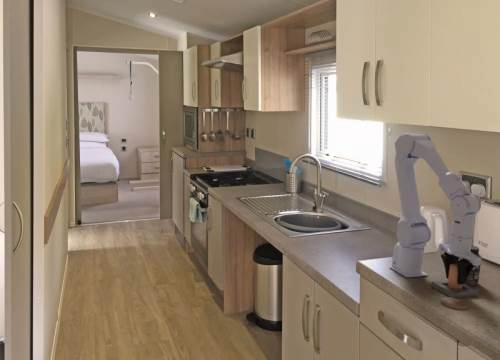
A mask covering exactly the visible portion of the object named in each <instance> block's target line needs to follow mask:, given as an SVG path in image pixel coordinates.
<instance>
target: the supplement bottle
mask: <svg viewBox="0 0 500 360" xmlns="http://www.w3.org/2000/svg"><path fill="white" fill-rule="evenodd" d="M470 252H472V253H473V254H474V255H476V256H477V257H479V258H481V259H482V256H481V255H480V247H478V246H476V245H471V250H470ZM459 260H462V259H461V258H459ZM481 264H482V263H481ZM481 264H480V265H476V266H475V267H474V268H473V269H472V271H471V272H470V274H469V276H468V278H467V280H466V282H465V284H466V285H468V286H477V285H478V284H479V279H480V271H481Z"/></svg>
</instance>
